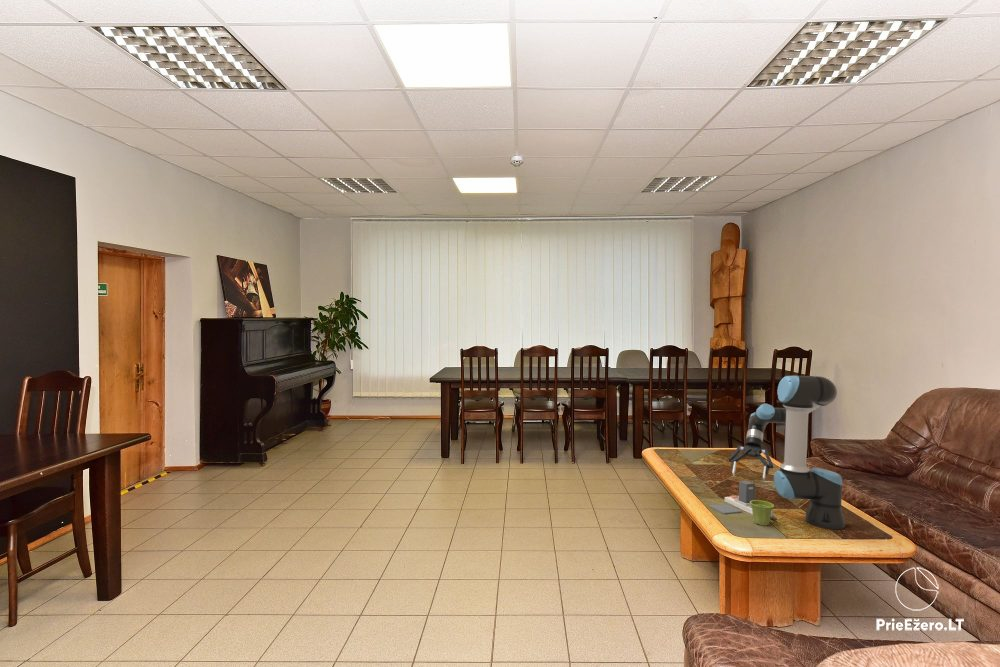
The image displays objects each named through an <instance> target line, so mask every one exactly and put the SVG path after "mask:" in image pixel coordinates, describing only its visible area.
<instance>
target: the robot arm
mask: <svg viewBox="0 0 1000 667" xmlns="http://www.w3.org/2000/svg"><path fill="white" fill-rule="evenodd" d="M836 387H837V386H836V385H835V384H834V382H833V381H832V380H830V379H828V378H827V377H825V376H824V377H823V376H821V375H820V376H818V375H817V376H811V375H810V376H809V375H785V376H784V377H782V378H781V380H780V381H779V383H778V386H777V392H776V393H777V399H778V400H779V401H780V402H781V403H782V407H774V406H773V405H771V404H768V403H762V404H760V405H759V406H758V407H757V408H756V411H755V412H753V413H751V414H750V416H749V418H748V426H747V432H746V438H745V439H746V440H745V443H744V446H741V445H740V444H738V445H737V447H736V449H735V451H733V452H732V453H731V454H730V455H729V457H728V462H729V463H731V464H730V467H731V469H732V476H733V477H734V476H735V474H736V468H737V463H738V462H739V461H741V460H742V459H743V458H746V457H750V458H751V457H752V458H757V459H758V460H759V461H760V463H762V465H763V472H762V481H764V482H765V481H766V477H767V476H766V475H769V473H770V469H773V470H774V463H773V461H772V460H771V457H770V455H769V451H768V450H769V449H768V448H765V449H762V448H763V442H764V432H765V429H766V427H767V425H769V423H770V424H772V423H774V424H785V432H784V453H783V454H784V456H783V457H784V458H783V463H781V464H780V465H779V470H776V471H775V472H774V474H773V481H774V482H773V483H774V487H775V490H776V492H777V493H778V495H779V496H781V497H782V498H784V499H791V500H810V504H809V506H808V507H807V510H806V513H805V515H804V516H805V518H804V519H805V520H804V521H805V522H807V523H808V524H810V525H812V526H815V527H818V528H823V529H828V530H843V529H845V528H846V519H845V518H844V514H843V511H842V497H843V495H842V493H843V478H842V476H841V474H839V473H837V472H835V471H831V470H828V469H824V468H818V467H813V468H811V469H810V468H809V467H808V466H807V458H808V457H807V452H808V451H807V450H808V433H809V432H808V430H809V414H810V413H812V412H814V411H815V410H816V409H819V408H820V407H825V406H828V405H830V404H832V403H833V402H834V401H835V400H836V398H837V394H838V390H837V388H836ZM740 452H741V453H740ZM762 454H763V455H765V456H764V457H765V458H764V457H763V456H762ZM765 459H766V460H767V461H766V460H765ZM844 527H845V528H844Z"/></svg>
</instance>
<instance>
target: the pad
mask: <svg viewBox="0 0 1000 667" xmlns="http://www.w3.org/2000/svg"><path fill="white" fill-rule="evenodd" d="M708 507H709V508H711V509H712V510H714V511H717V512H718V513H720V514H721V515H729V514H741V513H742V512H743V510H741V509H739V508H737V507H735V506H733V505H731V504H729V503H723V504H721V503H720V504H714V505H713V504H711V505H709V506H708Z"/></svg>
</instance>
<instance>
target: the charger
mask: <svg viewBox="0 0 1000 667" xmlns="http://www.w3.org/2000/svg"><path fill="white" fill-rule="evenodd" d="M755 493H756V483H755V482H753V481H749V480H740V481H739V485H738V496H739V501H741V502H744V503H750V501H753V500H756V499H755V498H756V497H755V495H756V494H755Z"/></svg>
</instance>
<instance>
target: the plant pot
mask: <svg viewBox="0 0 1000 667" xmlns="http://www.w3.org/2000/svg"><path fill="white" fill-rule="evenodd" d="M750 504H751V507H752V512H753V515H752V519H753V523H754V524H756V525H760V526H768V525H770V522H771V518H770V516H771V511H773V508H774V507H775V505H774V503H771V502H769V501H767V500H760V499H759V500H758V499H754V500H753V501H750Z"/></svg>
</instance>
